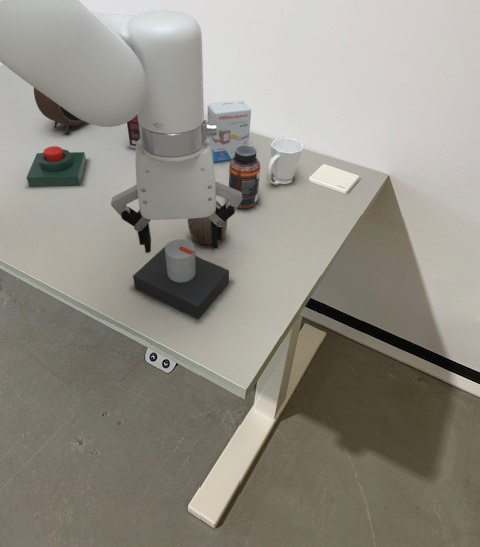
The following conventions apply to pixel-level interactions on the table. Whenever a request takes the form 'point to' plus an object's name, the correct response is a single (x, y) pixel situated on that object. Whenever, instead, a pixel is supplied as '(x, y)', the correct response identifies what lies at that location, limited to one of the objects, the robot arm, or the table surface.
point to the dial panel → (182, 285)
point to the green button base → (57, 170)
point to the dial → (180, 260)
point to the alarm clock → (55, 111)
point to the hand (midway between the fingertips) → (181, 244)
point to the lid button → (53, 153)
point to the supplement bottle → (245, 175)
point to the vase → (203, 228)
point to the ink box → (228, 128)
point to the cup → (284, 160)
